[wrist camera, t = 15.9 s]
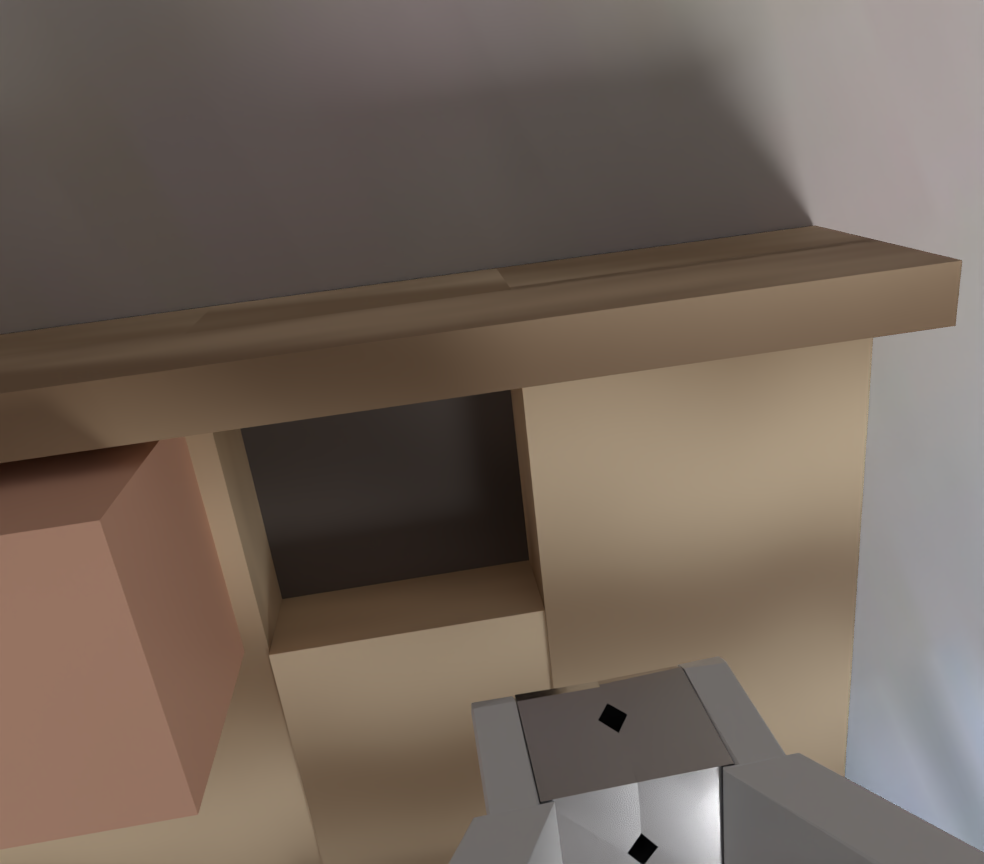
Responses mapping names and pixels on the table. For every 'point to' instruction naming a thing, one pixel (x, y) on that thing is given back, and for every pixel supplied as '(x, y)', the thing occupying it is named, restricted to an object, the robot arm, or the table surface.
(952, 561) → the table surface
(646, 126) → the table surface
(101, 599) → the block
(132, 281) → the table surface
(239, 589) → the trap box
